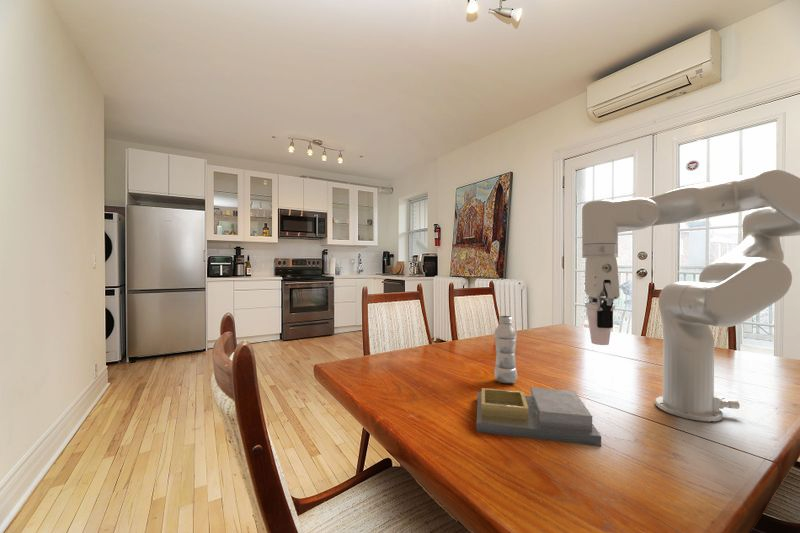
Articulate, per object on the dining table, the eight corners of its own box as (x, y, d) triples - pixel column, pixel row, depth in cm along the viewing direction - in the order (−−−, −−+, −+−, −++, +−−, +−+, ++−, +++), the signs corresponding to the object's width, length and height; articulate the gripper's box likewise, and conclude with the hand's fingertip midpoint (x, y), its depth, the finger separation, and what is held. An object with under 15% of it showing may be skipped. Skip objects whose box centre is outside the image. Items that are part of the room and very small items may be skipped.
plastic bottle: (518, 386, 98) (518, 318, 98) (494, 385, 100) (494, 318, 100) (515, 379, 105) (515, 315, 105) (493, 378, 106) (493, 314, 106)
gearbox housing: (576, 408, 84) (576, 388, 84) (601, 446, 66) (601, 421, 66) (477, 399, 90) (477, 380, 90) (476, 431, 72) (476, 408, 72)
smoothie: (615, 342, 84) (615, 285, 83) (615, 347, 78) (615, 287, 78) (586, 339, 87) (585, 285, 87) (584, 344, 82) (583, 286, 81)
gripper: (632, 250, 73) (632, 333, 73) (604, 252, 90) (604, 319, 90) (593, 250, 75) (594, 331, 75) (573, 253, 92) (574, 319, 92)
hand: (600, 324), depth 83 cm, fingers closed on smoothie, 6 cm apart
